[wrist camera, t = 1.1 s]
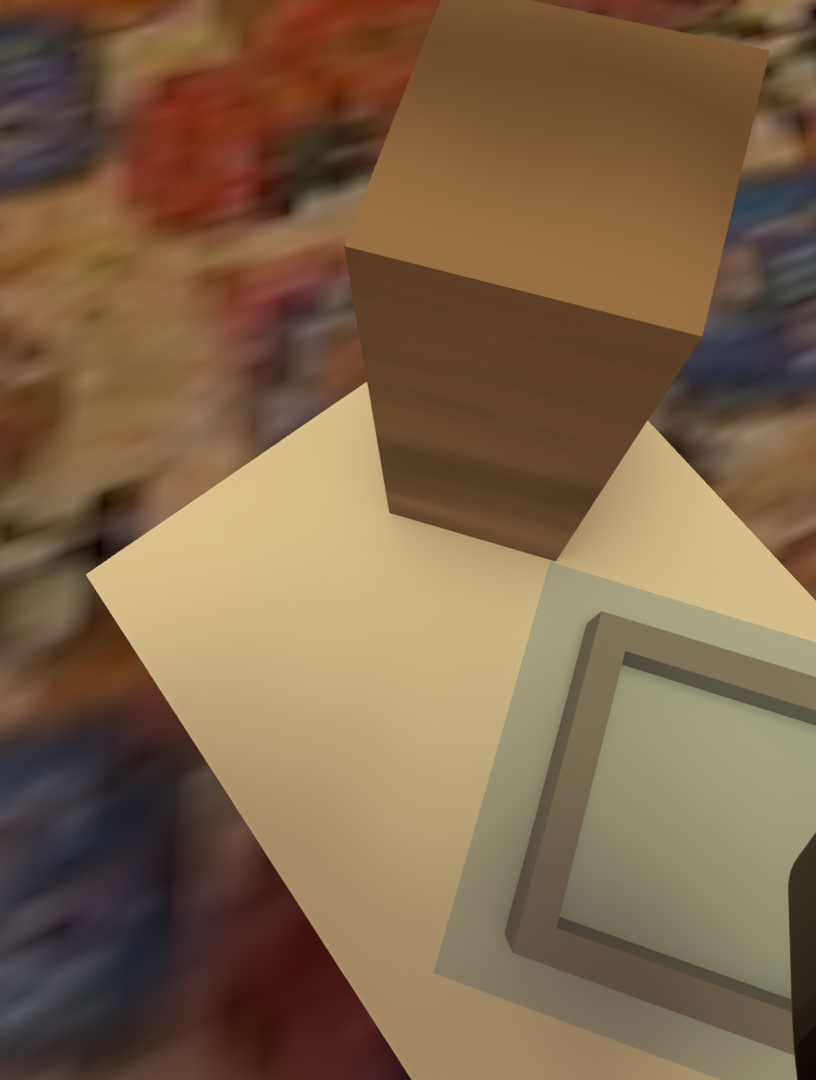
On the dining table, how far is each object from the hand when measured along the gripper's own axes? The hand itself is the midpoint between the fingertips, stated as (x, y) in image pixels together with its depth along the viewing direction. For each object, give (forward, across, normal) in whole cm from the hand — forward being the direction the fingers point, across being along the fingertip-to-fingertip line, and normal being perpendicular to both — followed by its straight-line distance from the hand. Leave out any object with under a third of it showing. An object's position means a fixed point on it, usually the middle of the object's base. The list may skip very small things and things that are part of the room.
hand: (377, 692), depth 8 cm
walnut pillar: (+15, 0, +3) cm, 15 cm away
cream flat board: (+10, -5, +10) cm, 15 cm away
